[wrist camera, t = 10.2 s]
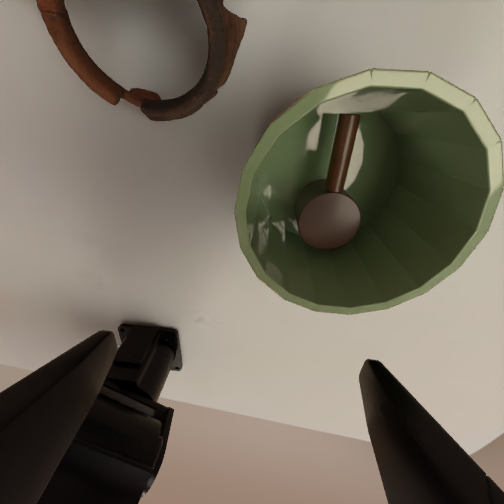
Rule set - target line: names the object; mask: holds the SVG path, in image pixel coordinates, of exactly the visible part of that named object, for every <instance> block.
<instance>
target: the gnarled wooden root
mask: <svg viewBox="0 0 504 504" xmlns="http://www.w3.org/2000/svg"><path fill="white" fill-rule="evenodd" d="M36 1H37V5H38V8H39V10H40V12H41V15H42V18H43V20H44V22H45V24H46V27H47V30H48V32H49V34H50V35H51V37H52V39H53V41H54V43H55V44H56V46H57V48H58V50H59V51H60V53H61V54H62V56H63V58H64V59H65V60H66V62H67V63H68V65H69V66H70V67H71V68H72V69H73V70H74V72H75V73H76V74H77V75H78V76H79V77H80V79H81V80H82V81H83V82H85V84H86V85H87V86H88V87H89V88H90V89H91V90H93V91H94V92H95V93H97V94H98V95H99V96H101V97H102V98H103V99H105V100H106V101H107V102H109V103H111V104H113V105H117V104H118V103H119V101H120V99H121V98H122V99H125V100H127V101H128V102H130V103H132V104H134V105H136V106H138V107H140V108H141V111H142V112H143V113H144V114H145V115H146V116H147V117H148V118H149V119H150V120H153V121H171V120H175V119H181V118H184V117H187V116H189V115H192V114H193V113H195V112H196V111H198V110H199V109H200V108H201V107H202V106H203V104H205V103H206V102H208V101H209V100H211V99H212V98H213V97H214V96H215V95H216V94H217V89H218V88H220V87H221V86H223V85H224V84H225V83H226V81H227V79H228V77H229V75H230V72H231V69H232V66H233V63H234V59H235V57H236V54H237V51H238V48H239V46H240V43H241V40H242V38H243V36H244V32H245V28H246V24H247V20H246V19H245V18H240V17H238V16H237V15H235V14H233V13H231V12H230V11H228V10H227V9H226V8H225V7H224V6H223V0H197V2H198V4H199V7H200V9H201V12H202V15H203V17H204V21H205V23H206V25H207V34H208V45H209V48H208V60H207V64H206V68H205V70H204V73H203V75H202V77H201V79H200V80H199V82H198V83H197V85H196V86H195V87H194V88H193V89H191V90H190V91H188V92H187V93H186V94H184V95H182V96H180V97H178V98H175V99H169V100H161V99H160V97H159V95H158V94H157V93H155V92H152V91H147V90H143V89H139V88H132V89H131V90H130V91H127V90H125V89H124V88H123V87H122V86H120V85H119V84H117V83H116V82H115V81H113V80H112V79H111V78H110V77H109V76H107V75H106V74H105V73H104V72H103V71H102V70H101V69H100V68H99V67H98V66H97V65H96V64H95V62H94V61H93V60H92V59H91V58H90V56H89V55H88V54H87V52H86V51H85V49H84V48H83V46H82V45H81V43H80V41H79V39H78V37H77V35H76V34H75V32H74V29H73V27H72V25H71V22H70V19H69V16H68V12H67V10H66V7H65V4H64V0H36Z"/></svg>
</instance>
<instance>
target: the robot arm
mask: <svg viewBox="0 0 504 504" xmlns="http://www.w3.org/2000/svg"><path fill="white" fill-rule="evenodd" d="M118 332H119V335H120V338H121V342H122V344H121V345H120V347H119V348H118V350H117V343H116V340H115V336H114V333H113V332H112V331H105V330H101V331H98V332H97V333H95V334H93V335H92V336H90V337H89V338H87V339H85V340H84V341H82V342H81V343H79V344H77V345H76V346H74V347H73V348H71V349H69V350H68V351H66V352H65V353H63V354H61V355H60V356H58V357H57V358H55V359H53V360H52V361H50V362H49V363H47V364H46V365H44V366H42V367H41V368H39V369H38V370H36V371H34V372H33V373H31V374H30V375H28V376H27V377H25V378H23V379H22V380H20V381H18V382H17V383H15V384H14V385H12V386H10V387H9V388H7V389H6V390H4V391H2V392H1V393H0V504H138V503H139V500H140V498H141V497H143V496H144V495H145V494H146V493H147V492H148V490H149V489H150V487H151V485H152V483H153V482H154V480H155V478H156V476H157V474H158V471H159V469H160V466H161V464H162V461H163V458H164V454H165V450H166V446H167V440H168V436H169V431H170V426H171V422H172V417H173V412H174V409H172V408H170V407H165V406H163V405H161V404H159V403H157V401H158V398H159V396H160V393H161V391H162V389H163V386H164V384H165V381H166V379H167V377H168V374H169V372H170V370H174V371H180V370H181V369H182V358H181V351H180V343H179V335H178V331H177V330H175V329H167V328H158V327H148V326H139V325H130V324H121V325H120V326H119V327H118ZM359 382H360V388H361V393H362V399H363V405H364V411H365V416H366V422H367V427H368V431H369V435H370V439H371V443H372V446H373V450H374V453H375V457H376V461H377V464H378V468H379V471H380V475H381V479H382V482H383V486H384V490H385V492H386V497H387V500H388V504H504V492H503V491H502V490H501V489H500V488H499V487H498V486H497V485H496V483H495V482H494V481H493V480H492V479H491V478H490V477H489V476H486V473H485V472H484V471H483V470H482V469H481V468H480V467H479V466H478V465H477V464H476V462H475V461H473V459H472V458H471V457H470V456H469V455H468V454H467V453H466V452H465V451H464V450H463V449H462V448H461V447H460V446H459V444H458V443H457V442H456V441H455V440H454V439H453V438H452V437H451V436H450V435H449V434H448V433H447V432H446V431H445V430H444V429H443V428H442V426H441V425H440V424H439V423H438V422H437V421H436V420H435V419H434V418H433V417H432V416H431V415H430V414H429V413H428V412H427V411H426V410H425V408H424V407H423V406H422V405H421V404H420V403H419V402H418V401H417V400H416V399H415V398H414V397H413V396H412V395H411V394H410V393H409V392H408V390H407V389H406V388H405V387H404V386H403V385H402V384H401V383H400V382H399V381H398V380H397V379H396V378H395V377H394V376H393V375H392V374H391V373H390V371H389V370H388V369H387V368H386V367H385V366H384V365H383V364H382V363H381V362H380V361H378V360H371V359H367V360H366V361H365V362H364V365H363V367H362V369H361V372H360V374H359Z"/></svg>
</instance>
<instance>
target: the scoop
mask: <svg viewBox="0 0 504 504" xmlns="http://www.w3.org/2000/svg"><path fill="white" fill-rule="evenodd" d="M360 118H361V115H360V114H348V113H340V114H339V117H338V122H337V127H336V132H335V137H334V142H333V147H332V152H331V157H330V162H329V167H328V172H327V177H326V179H320V180H315V181H313V182H311V183H309V184H307V185H306V186H305V187H303V188H302V190H301V191H300V192H299V194H298V195H297V198H296V200H295V213H296V219H297V224H298V229H299V233H300V235H301V237H302V238H303V240H304V241H305V242H306V243H308V244H309V245H311V246H312V247H315V248H318V249H326V250H327V249H335V248H338V247H340V246H343V245H344V244H346V243H348V242H349V241H350V240H351V239H352V238H353V237H354V236H355V234H356V233H357V231H358V229H359V227H360V223H361V212H360V209H359V206H358V205H357V203H356V202H355V201H354V200H353V199H352V197H351V196H350V195H349V194H348V193H347V192H346V191H345V189H344V185H345V181H346V176H347V172H348V168H349V164H350V160H351V155H352V151H353V147H354V143H355V139H356V134H357V130H358V126H359V122H360Z"/></svg>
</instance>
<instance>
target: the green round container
mask: <svg viewBox="0 0 504 504" xmlns="http://www.w3.org/2000/svg"><path fill="white" fill-rule="evenodd" d="M340 113H348V114H360V115H361V118H360V122H359V126H358V130H357V134H356V139H355V143H354V147H353V151H352V155H351V160H350V164H349V168H348V172H347V176H346V181H345V185H344V189H345V191H346V192H347V193H348V194H349V195H350V196H351V197H352V199H353V200H354V201H355V202H356V203H357V205H358V206H359V209H360V212H361V223H360V227H359V229H358V231H357V233H356V234H355V236H354V237H353V238H352V239H351V240H350V241H349V242H348V243H346V244H344V245H343V246H340V247H338V248H335V249H327V250H326V249H318V248H315V247H312V246H311V245H309V244H308V243H306V242H305V241H304V240H303V238H302V237H301V235H300V233H299V229H298V224H297V219H296V213H295V200H296V198H297V195H298V194H299V192H300V191H301V190H302V188H303V187H305V186H306V185H307V184H309V183H311V182H313V181H315V180H320V179H326V177H327V172H328V167H329V162H330V157H331V152H332V147H333V142H334V137H335V132H336V127H337V122H338V117H339V114H340ZM503 187H504V174H503V153H502V141H501V138H500V136H499V134H498V133H497V131H496V129H495V128H494V126H493V124H492V123H491V121H490V119H489V118H488V116H487V114H486V113H485V111H484V109H483V108H482V106H481V104H480V103H479V101H478V99H476V98H475V97H474V96H473V95H471V94H469V93H467V92H466V91H464V90H462V89H460V88H459V87H457V86H455V85H453V84H452V83H450V82H448V81H446V80H444V79H443V78H441V77H439V76H437V75H436V74H434V73H432V72H428V71H415V70H395V69H376V68H373V69H368V70H365V71H362V72H359V73H356V74H354V75H351V76H348V77H345V78H342V79H339V80H337V81H334V82H331V83H328V84H325V85H322V86H320V87H317V88H315V89H313V90H311V91H310V92H308V93H306V94H305V95H303V96H302V97H300V98H298V99H297V100H296V101H294V102H293V103H292V104H291V105H289V106H288V107H287V108H286V109H285V110H283V111H282V112H281V113H280V114H279V115H277V116H276V117H275V118H274V119H273V120H272V121H271V123H270V124H269V126H268V128H267V129H266V131H265V133H264V134H263V136H262V137H261V139H260V141H259V142H258V144H257V146H256V147H255V149H254V151H253V152H252V154H251V156H250V157H249V159H248V161H247V162H246V164H245V166H244V168H243V170H242V175H241V180H240V185H239V189H238V194H237V199H236V204H235V209H234V210H235V212H234V213H235V219H236V225H237V231H238V238H239V244H240V248H241V250H242V252H243V254H244V255H245V257H246V259H247V260H248V262H249V264H250V266H251V267H252V269H253V271H254V272H255V274H256V276H257V277H258V278H259V279H260V280H261V281H262V282H263V283H265V284H266V285H267V286H268V287H269V288H271V289H272V290H273V291H274V292H276V293H277V294H278V295H279V296H280V297H282V298H284V299H285V300H287V301H290V302H292V303H295V304H297V305H300V306H302V307H305V308H308V309H310V310H313V311H317V312H327V313H337V314H347V315H349V314H350V315H352V314H358V313H365V312H371V311H378V310H384V309H389V308H391V307H393V306H396V305H398V304H401V303H403V302H405V301H408V300H410V299H413V298H415V297H418V296H420V295H422V294H424V293H426V292H427V291H429V290H430V289H432V288H433V287H434V286H436V285H437V284H438V283H440V282H441V281H442V280H444V279H445V278H446V277H448V276H449V275H450V274H452V273H453V272H455V271H456V270H457V269H459V267H461V265H462V264H463V263H464V262H465V260H466V259H467V258H468V257H469V255H470V254H471V253H472V251H473V250H474V249H475V248H476V246H477V245H478V244H479V243H480V241H481V240H482V239H483V238H484V236H485V235H486V234H487V231H488V230H489V228H490V225H491V222H492V220H493V217H494V214H495V211H496V209H497V206H498V203H499V200H500V198H501V195H502V192H503V189H504V188H503Z"/></svg>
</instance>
